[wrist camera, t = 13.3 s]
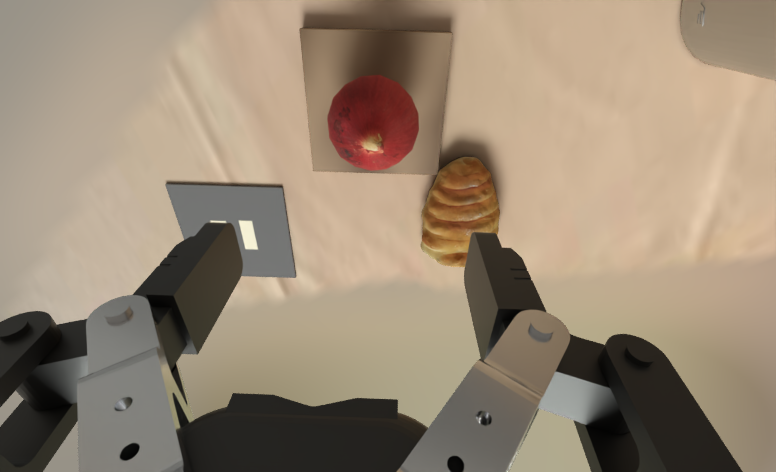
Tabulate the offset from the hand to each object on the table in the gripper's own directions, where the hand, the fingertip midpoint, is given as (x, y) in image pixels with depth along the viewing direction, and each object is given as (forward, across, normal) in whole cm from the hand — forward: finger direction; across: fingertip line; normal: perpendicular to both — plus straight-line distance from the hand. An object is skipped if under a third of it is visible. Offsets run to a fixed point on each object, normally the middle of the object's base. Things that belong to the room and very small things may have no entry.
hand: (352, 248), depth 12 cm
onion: (+17, 0, 0) cm, 17 cm away
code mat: (+18, +13, +12) cm, 25 cm away
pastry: (+19, -7, +9) cm, 22 cm away
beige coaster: (+18, 0, 0) cm, 18 cm away
